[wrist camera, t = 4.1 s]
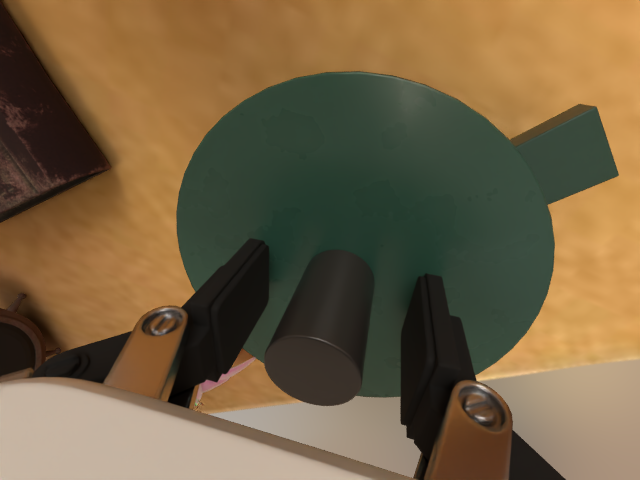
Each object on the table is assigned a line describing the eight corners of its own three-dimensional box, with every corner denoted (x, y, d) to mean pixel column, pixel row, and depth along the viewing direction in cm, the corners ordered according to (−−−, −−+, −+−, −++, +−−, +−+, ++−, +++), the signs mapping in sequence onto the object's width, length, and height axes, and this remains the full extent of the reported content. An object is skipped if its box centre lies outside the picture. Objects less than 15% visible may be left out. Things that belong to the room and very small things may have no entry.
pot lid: (135, 204, 14) (-3, 270, 9) (428, -55, 8) (473, -269, 3) (308, 398, 18) (275, 514, 13) (595, 333, 12) (729, 511, 7)
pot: (205, 184, 22) (109, 237, 15) (465, -20, 14) (538, -127, 6) (309, 315, 26) (274, 408, 19) (563, 218, 18) (677, 319, 10)
